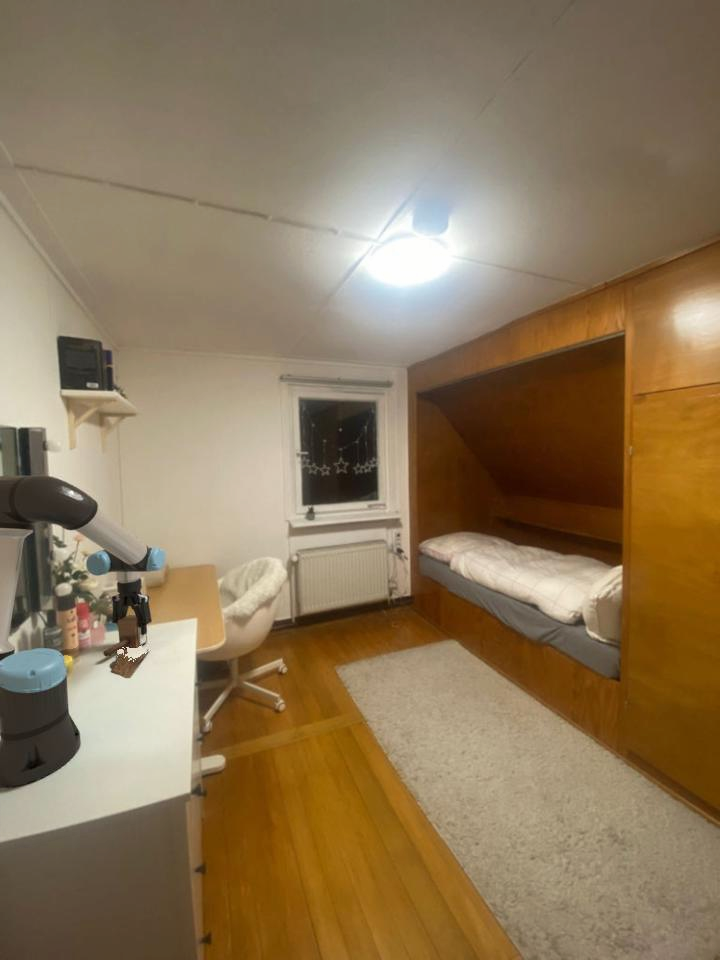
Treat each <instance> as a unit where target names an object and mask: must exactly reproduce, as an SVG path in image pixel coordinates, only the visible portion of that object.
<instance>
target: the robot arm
mask: <svg viewBox="0 0 720 960" xmlns="http://www.w3.org/2000/svg"><path fill="white" fill-rule="evenodd" d="M37 523H43V524H45V523H46V524H52V525H56V526H59V527H61V528H62V529H63V530H66V531H76V532H77V533H79V534H80V535H82V536H84V537H85V538H86V539H88V540H90V541H91V542H92V543H93V544H96V545H97V546H99V547H101V549H102V550H97V551H96V552H93V553H92V554H90V555H89V556H88V557H87V559H86V561H85V565H86V567H85V568H86V570H87V571H88V572H89V574H90V575H93V576H97V577H98V576H103V575H106V574H108V573H115V575H116V578H115V579H116V581H117V583H116V590H117V593H118V594H115V595H113V596H111V599H112V600H111V601H112V621H111V622H112V623H113V624H116V625H117V626H118V620H120V619H122V618H124V617H126V616H128V610H129V607H130V609H132V610H133V612H134V615H136V617H137V620H138V623H139V625H140V626H138V640H139V645H141V644H143V643H145V642H146V633H148V628H147V625H149V624H150V623H152V614H151V608H150V603H149V601H150V596H149V595H143V594H142V592H141V590H142V588H143V587H142V586H143V585H142V579H141V577H142V572H145V573H147V572H148V573H150V572H156V571H160V570H161V569H162V568H163V567H164V565H165V561H166V555H165V554H166V553H165V552H164V550H163V549H162V548H159V547H149V546H148V545H146V544H145V543H143V542H142V541H141V540H139V538H138V537H137V536H136V535H133V534H132V533H131V532H130V531H128V530H127V529H126V528H124V527H123V526H122V525H121V524H119V523H118V522H117V521H116V520H114V519H113V518H112V517H111V516H109V515H108V514H107V513H105V512H104V511H103V510H102V509H100V507H99V504H98V501H96V499H94V498H93V497H92V496H91V495H89V494H88V493H86V492H85V491H84V490H81V489H80V488H79V487H77V486H74V485H73V484H71V483H69V482H67V481H64V480H62V479H60V478H58V477H54V476H50V475H44V474H33V475H0V787H1V786H4V787H3V788H8V787H7V786H14V787H19V786H23V785H22V784H24V785H26V784H25V783H27V784H29V783H28V782H30V783H32V782H31V781H33V782H35V781H34V780H36V779H38V780H40V779H42V778H41V777H43V776H45V777H47V776H49V775H50V774H52V773H54V772H55V771H57V770H59V769H60V768H62V767H63V766H64V765H66V764H67V763H68V762H69V761H70V760H72V759H73V758H74V756H75V755H76V754H77V752H79V750H80V748H81V743H82V741H81V733H80V730H79V729H78V726H77V725H76V723H75V722H74V719H73V718H72V716H71V714H70V710H69V708H70V707H69V696H68V695H69V693H68V677H67V676H68V675H67V674H68V673H67V671H68V670H67V666H66V663H65V657H64V655H63V654H62V653H61V652H60V651H58V650H57V649H53V648H46V647H38V648H32V649H30V650H28V649H25V650H21V651H18V652H15V651H16V646H15V645H14V644H13V643H11V642H10V641H9V637H10V629H11V624H12V618H13V611H14V606H15V605H14V604H15V599H16V592H17V586H18V579H19V573H20V568H21V567H20V566H21V560H22V555H23V548H24V542H25V539H26V537H28V536H30V535H31V534H33V533H34V529H35V528H34V527H35V524H37ZM117 632H118V633H119V630H118V631H117ZM48 774H49V775H48ZM46 775H47V776H46ZM39 778H40V779H39ZM43 778H44V777H43ZM36 781H37V780H36ZM18 785H19V786H18ZM5 786H6V787H5Z"/></svg>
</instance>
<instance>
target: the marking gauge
mask: <svg viewBox="0 0 720 960" xmlns="http://www.w3.org/2000/svg"><path fill="white" fill-rule="evenodd" d="M138 626H140V625H139V623H138V620H137V617H136V615H135V614H127V615H126V617H124V618H122V619H120V620H118V625H117V629H118V630H119V632H118V640H119V642H118V643H116V644H114V645H113V646H111V647H109V648H107V649H106V650H104V651H103V652H102V654H103V656H104V657H111V656H112V654H114V653H116V651H117V650H119V649H121V648H122V647H124V648H126V647H129V648H138V647H139V646H141V645H143V644H144V643H143V644H141V645H139V640H138ZM147 633H148V632H147ZM147 633H146V642H147V643H148V636H147ZM146 642H145V643H146ZM147 643H146V644H147ZM144 645H145V644H144ZM144 645H143V646H144Z"/></svg>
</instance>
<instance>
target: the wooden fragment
mask: <svg viewBox="0 0 720 960" xmlns="http://www.w3.org/2000/svg"><path fill="white" fill-rule="evenodd" d="M121 649H123V650H124V655H123V653H122V654H119V655H117V654H116V657H117V656H118V658H116V659H115V660H114V661H112V662H110V665H109V666H110V667H111V670H110V673H112V674H115V675H118V676H121V677H123V678H124V679H131V677H132V676H133V674H134V673H135V672H136V670H137V669H138V668H139V667H140V665H141V663H142V662H143V660H144V659H145V658H146V657H147V655H148V654H149V653H146V654H145V653H144V654H142V655H141V656H140V657H138V658H135V659H136V660H135V659H133V658H132V657H130V658H132V660H130V661H128V660H129V659H130V658H128V656H126V657H125V654H127V653H128V652H127V648H125V649H124V648H121ZM124 657H125V658H124ZM133 660H134V662H133Z"/></svg>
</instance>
